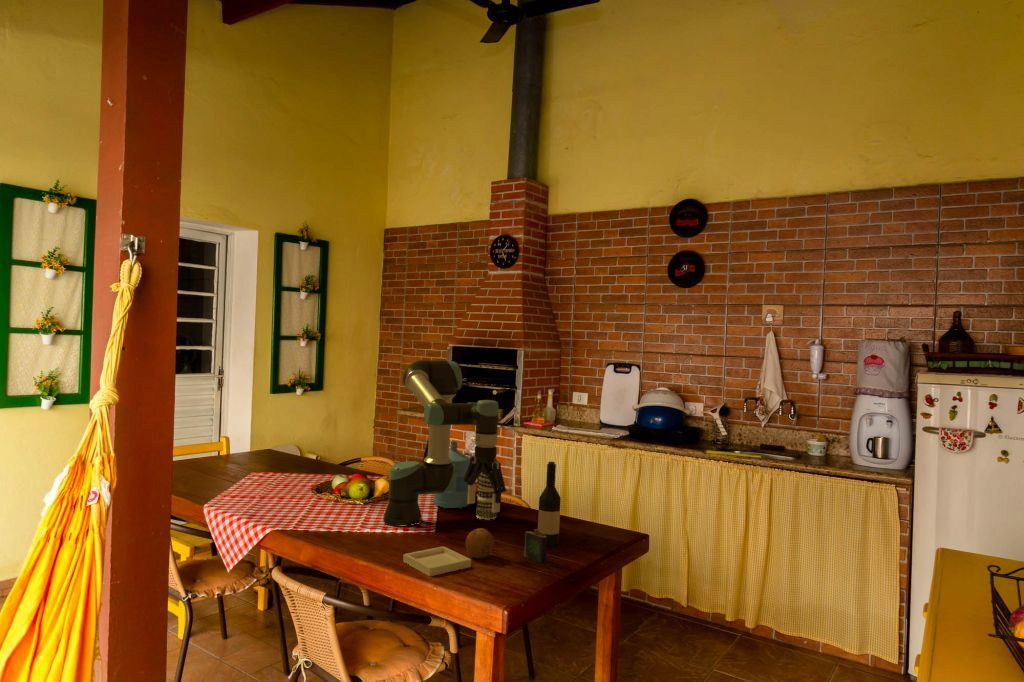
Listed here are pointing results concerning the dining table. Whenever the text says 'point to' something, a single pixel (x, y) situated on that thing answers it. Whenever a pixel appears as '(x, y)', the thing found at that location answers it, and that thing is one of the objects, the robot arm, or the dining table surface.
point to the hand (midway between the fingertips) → (483, 507)
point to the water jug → (459, 492)
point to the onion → (479, 543)
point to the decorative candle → (485, 497)
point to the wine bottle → (549, 508)
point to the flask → (535, 546)
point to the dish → (436, 561)
